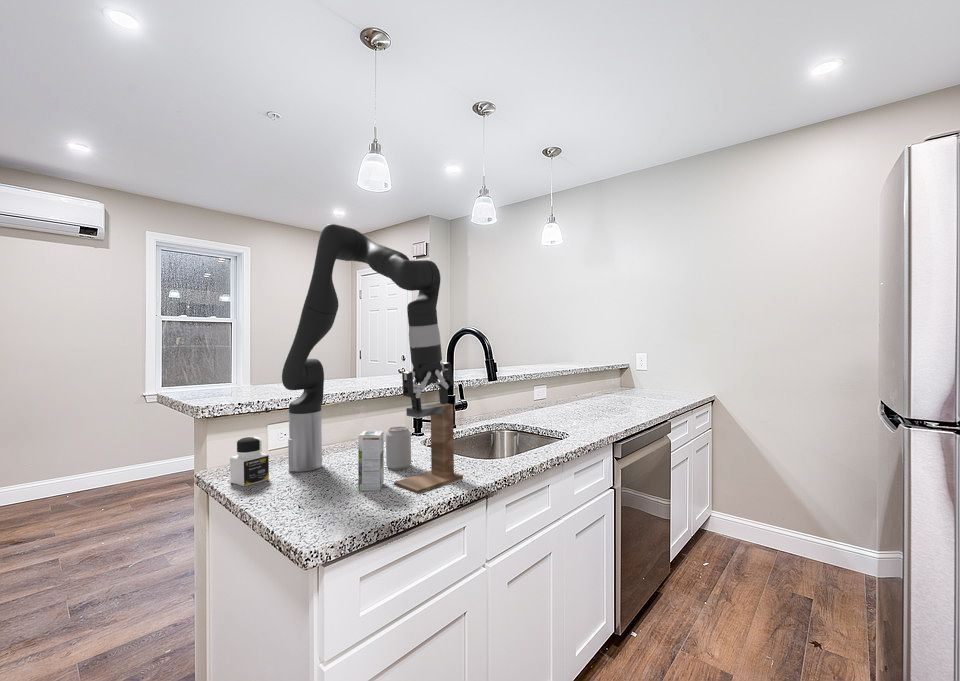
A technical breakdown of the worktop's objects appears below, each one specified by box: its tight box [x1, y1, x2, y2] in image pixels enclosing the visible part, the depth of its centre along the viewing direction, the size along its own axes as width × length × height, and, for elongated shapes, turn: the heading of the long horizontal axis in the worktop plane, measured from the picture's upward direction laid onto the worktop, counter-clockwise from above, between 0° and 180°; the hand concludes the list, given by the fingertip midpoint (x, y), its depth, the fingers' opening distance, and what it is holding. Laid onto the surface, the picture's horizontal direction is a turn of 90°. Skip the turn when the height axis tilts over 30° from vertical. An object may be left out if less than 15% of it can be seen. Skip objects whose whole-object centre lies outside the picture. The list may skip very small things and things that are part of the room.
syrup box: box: [357, 430, 385, 492], centre depth 114 cm, size 6×6×14 cm
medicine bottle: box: [229, 436, 270, 487], centre depth 120 cm, size 7×7×12 cm
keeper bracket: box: [393, 402, 464, 494], centre depth 118 cm, size 16×10×20 cm, turn 138°
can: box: [385, 425, 412, 471], centre depth 132 cm, size 8×8×12 cm
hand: (431, 408), depth 107 cm, fingers open, 8 cm apart
